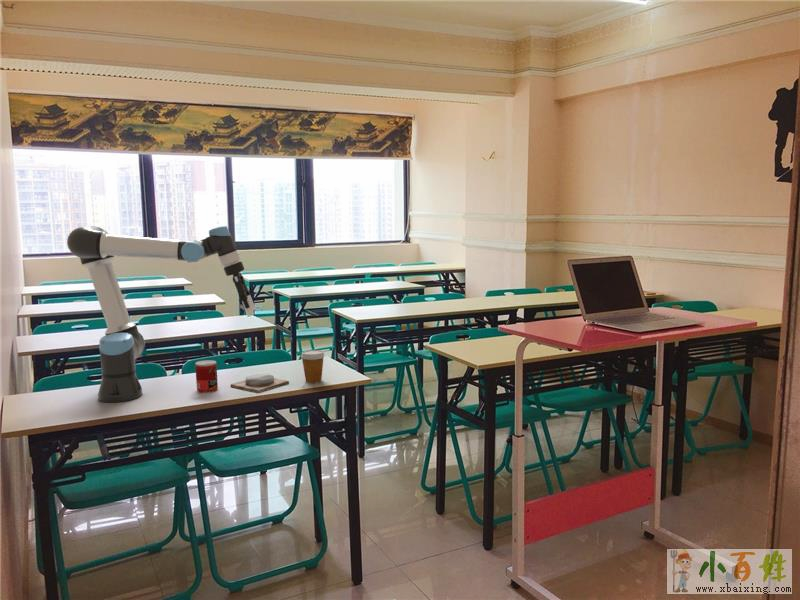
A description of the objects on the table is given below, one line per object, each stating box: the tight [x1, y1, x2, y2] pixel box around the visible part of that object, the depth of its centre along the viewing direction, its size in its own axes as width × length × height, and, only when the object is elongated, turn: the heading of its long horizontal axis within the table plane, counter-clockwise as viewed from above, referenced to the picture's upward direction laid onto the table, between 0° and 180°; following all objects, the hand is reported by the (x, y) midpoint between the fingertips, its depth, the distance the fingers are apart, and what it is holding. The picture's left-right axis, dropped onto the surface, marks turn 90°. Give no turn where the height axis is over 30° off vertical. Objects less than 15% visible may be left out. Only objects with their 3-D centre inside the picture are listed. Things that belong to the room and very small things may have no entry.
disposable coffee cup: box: [300, 349, 325, 384], centre depth 253 cm, size 10×10×12 cm
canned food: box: [194, 359, 219, 393], centre depth 242 cm, size 8×8×11 cm
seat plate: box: [230, 373, 290, 393], centre depth 249 cm, size 16×16×3 cm
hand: (252, 313), depth 253 cm, fingers open, 13 cm apart
